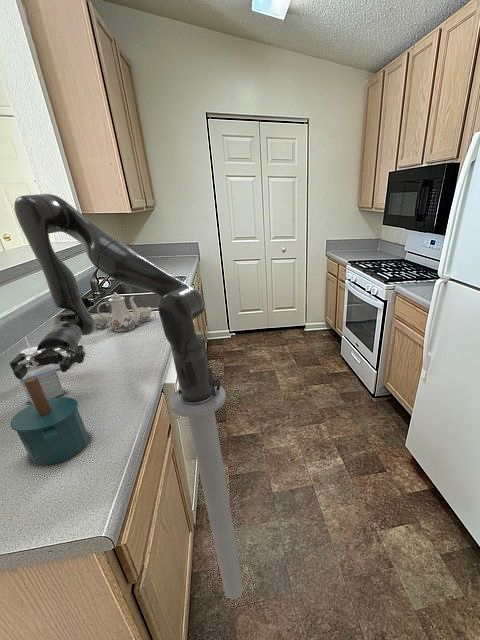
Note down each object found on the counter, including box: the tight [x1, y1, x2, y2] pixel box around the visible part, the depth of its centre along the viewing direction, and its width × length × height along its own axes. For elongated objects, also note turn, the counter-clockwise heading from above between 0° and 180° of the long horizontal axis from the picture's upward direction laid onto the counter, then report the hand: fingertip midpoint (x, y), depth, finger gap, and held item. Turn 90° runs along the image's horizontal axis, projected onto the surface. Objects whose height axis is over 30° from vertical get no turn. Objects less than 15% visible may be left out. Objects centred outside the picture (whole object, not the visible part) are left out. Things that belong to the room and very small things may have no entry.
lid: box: [9, 377, 79, 432], centre depth 72 cm, size 12×12×10 cm
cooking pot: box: [16, 407, 90, 466], centre depth 76 cm, size 11×17×10 cm
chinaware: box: [91, 291, 157, 333], centre depth 146 cm, size 28×17×17 cm, turn 122°
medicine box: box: [18, 365, 65, 405], centre depth 95 cm, size 8×4×9 cm, turn 145°
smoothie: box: [19, 336, 47, 371], centre depth 105 cm, size 6×6×14 cm
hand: (40, 372), depth 75 cm, fingers open, 8 cm apart
